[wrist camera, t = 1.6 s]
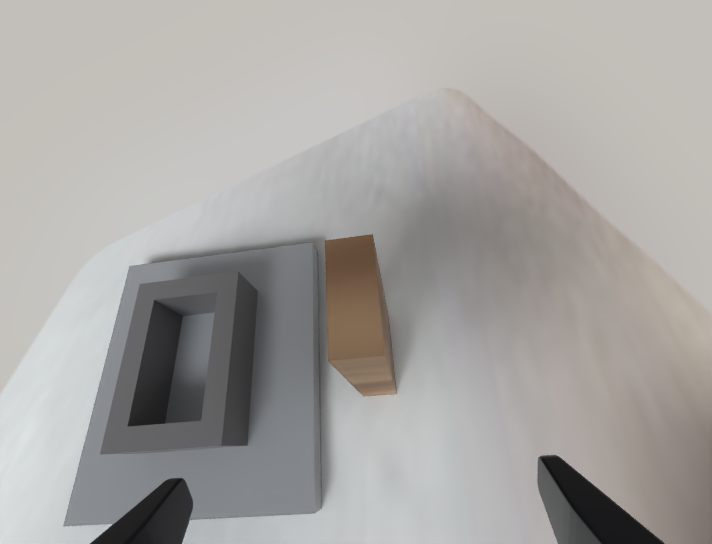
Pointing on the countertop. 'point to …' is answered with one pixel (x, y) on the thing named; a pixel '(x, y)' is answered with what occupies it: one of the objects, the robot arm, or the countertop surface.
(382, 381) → the walnut block
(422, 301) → the countertop surface
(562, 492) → the robot arm
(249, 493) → the grey socket base
